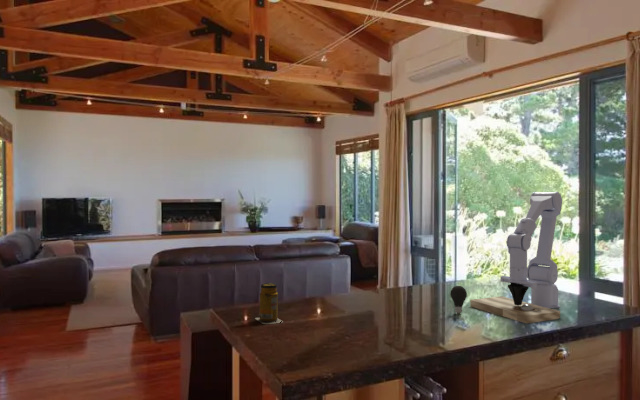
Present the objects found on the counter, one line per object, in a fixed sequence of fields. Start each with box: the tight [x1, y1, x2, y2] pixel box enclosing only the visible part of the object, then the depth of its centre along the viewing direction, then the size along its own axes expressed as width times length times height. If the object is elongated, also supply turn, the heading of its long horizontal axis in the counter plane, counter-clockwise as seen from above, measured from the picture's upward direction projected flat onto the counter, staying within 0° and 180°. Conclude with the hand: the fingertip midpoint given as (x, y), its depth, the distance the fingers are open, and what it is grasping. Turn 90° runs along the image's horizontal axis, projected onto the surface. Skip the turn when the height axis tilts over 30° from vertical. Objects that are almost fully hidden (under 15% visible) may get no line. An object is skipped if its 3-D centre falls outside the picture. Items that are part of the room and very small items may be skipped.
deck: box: [470, 296, 561, 325], centre depth 167 cm, size 16×26×2 cm, turn 24°
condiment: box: [254, 282, 284, 325], centre depth 153 cm, size 7×8×12 cm
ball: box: [521, 304, 533, 311], centre depth 162 cm, size 4×4×4 cm
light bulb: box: [450, 285, 468, 315], centre depth 164 cm, size 6×6×10 cm
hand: (517, 304), depth 165 cm, fingers closed
